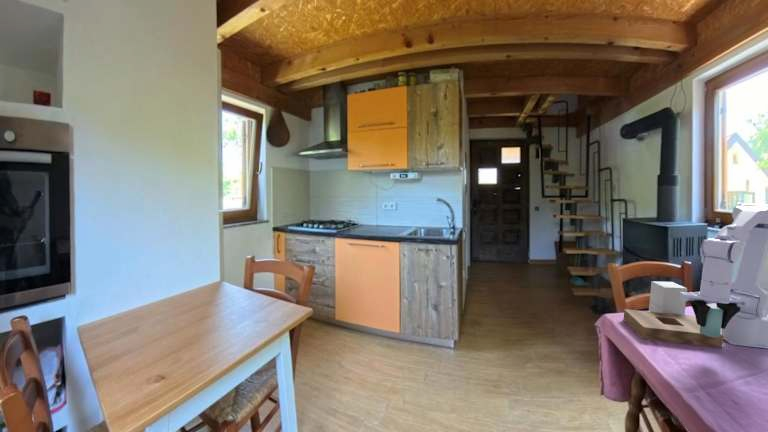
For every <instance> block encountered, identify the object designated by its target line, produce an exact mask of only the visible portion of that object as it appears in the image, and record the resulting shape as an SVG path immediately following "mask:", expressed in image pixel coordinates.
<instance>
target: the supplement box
mask: <svg viewBox="0 0 768 432" xmlns="http://www.w3.org/2000/svg"><path fill="white" fill-rule="evenodd" d="M681 292H688V288H687V287H685V286H683V285H680V284H678V283H676V282H674V281H655V280H654V281H652V280H651V282H650V293H649V306H648V312H649V311H650V312H658V313H669V314H679V315H686V314H685V313H686V303H687V301H684V300H682V299H680V293H681Z"/></svg>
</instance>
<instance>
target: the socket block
mask: <svg viewBox="0 0 768 432" xmlns="http://www.w3.org/2000/svg"><path fill="white" fill-rule="evenodd" d="M623 321H625V323H627V324H628V326H629V327H630V328H631V329H632V330H633V331H635V332H636V334H637V335H638V336H640V337H641V339H644V340H651V341H659V342H668V343H676V344H682V345H683V344H684V345H693V346H699V347H700V346H703V347H707V348H708V347H709V348H716V349H718V348H719V349H722V348H723V343H724V339H723V335H721V334H720V337H719V338H714V337H709V336H706V335H703V334H702V333H700V325H698V324H697V321H696V317H695V315H687V314H685V315H679V314H669V313H658V312H649V310H648V311H645V310H637V309H635V310H634V309H628V308H627V309H626V308H624V309H623Z"/></svg>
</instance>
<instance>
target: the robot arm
mask: <svg viewBox="0 0 768 432" xmlns="http://www.w3.org/2000/svg"><path fill="white" fill-rule="evenodd" d="M731 217H732V219H733V221H732V223H731V224H728V225H727V224H726V225H725V226H723V227H722V228H721V229H720V230H719V231H718V232H717V233H716V234H715V235H714V236H713V237H711V238H708V239H704V240H703V241H702V243H701V245H700V249H699V250H700V251H699V252H700V257H701V259H700V263H701V264H702V271H701V280H700V290H699V291H695V292H694V291H693V292H692V291H690V292H688V291H687V292H681V293H680V299H682V300H684V301H686V302H688V303H689V305H690V306H691V308H692V311H693V313H694V317H695V318H696V321H697V324H698V325H700V326H702V327H705V324H706V317H707V314H708V311H709V309H710V308H711V307H710V306H708V305H709V304H707V303H714V304H715V306H716V307H719V308H722V309H723V317H722V325H721V333H720V334H721V335H723V341H726V342H727V343H729V344H730V345H735V346H742V347H744V346H745V347H750V348H751V347H752V348H761V349H767V350H768V318H767V316H768V292H767V291H766V290H765V289H763V288H762V287H761V286H760V282H761V279H762V274H763V272H764V266H765V263H766V261H767V260H766V259H767V255H768V203H767V204H766V203H745V202H738V203H737V204H735V205H734V206H733V209H732V213H731ZM743 245H744V248H742V247H743ZM742 249H743V250H742ZM741 252H743V253H742V255H741ZM740 255H741V259H740V262H739V263H740V264H739V267H738V271H737V274H736V278H735V281H733V276H734V275H733V273H734V265H735V262H737V261H738V259H739V257H740Z"/></svg>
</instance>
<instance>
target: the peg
mask: <svg viewBox="0 0 768 432" xmlns="http://www.w3.org/2000/svg"><path fill="white" fill-rule="evenodd" d="M707 305H708V306H710V307H711V308H710V309H709V311H708V314H707V317H706V324H705V327H702V326H700V333H702V334H703V335H706V336H709V337H714V338H719V337H720V333H721V330H722V328H721V325H722V317H723V309H722V308H719V307H717V305H712V304H711V305H710V304H707Z"/></svg>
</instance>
